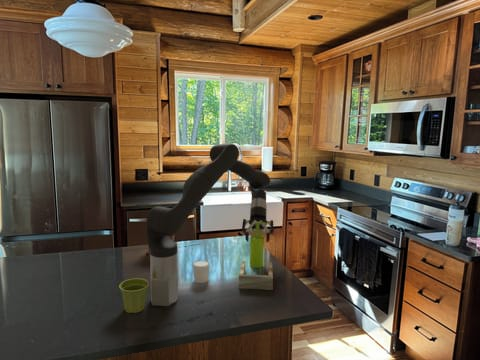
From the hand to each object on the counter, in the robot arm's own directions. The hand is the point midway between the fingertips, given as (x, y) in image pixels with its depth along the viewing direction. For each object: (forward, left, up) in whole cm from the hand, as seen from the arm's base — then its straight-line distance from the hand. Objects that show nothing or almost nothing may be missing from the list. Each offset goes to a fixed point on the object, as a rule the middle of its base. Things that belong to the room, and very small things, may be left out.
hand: (257, 241), depth 147 cm
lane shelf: (-12, 0, -12) cm, 17 cm away
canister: (+12, +47, -12) cm, 50 cm away
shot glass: (-16, +22, -12) cm, 30 cm away
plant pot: (-40, +40, -12) cm, 58 cm away
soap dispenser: (+1, 0, -12) cm, 12 cm away
